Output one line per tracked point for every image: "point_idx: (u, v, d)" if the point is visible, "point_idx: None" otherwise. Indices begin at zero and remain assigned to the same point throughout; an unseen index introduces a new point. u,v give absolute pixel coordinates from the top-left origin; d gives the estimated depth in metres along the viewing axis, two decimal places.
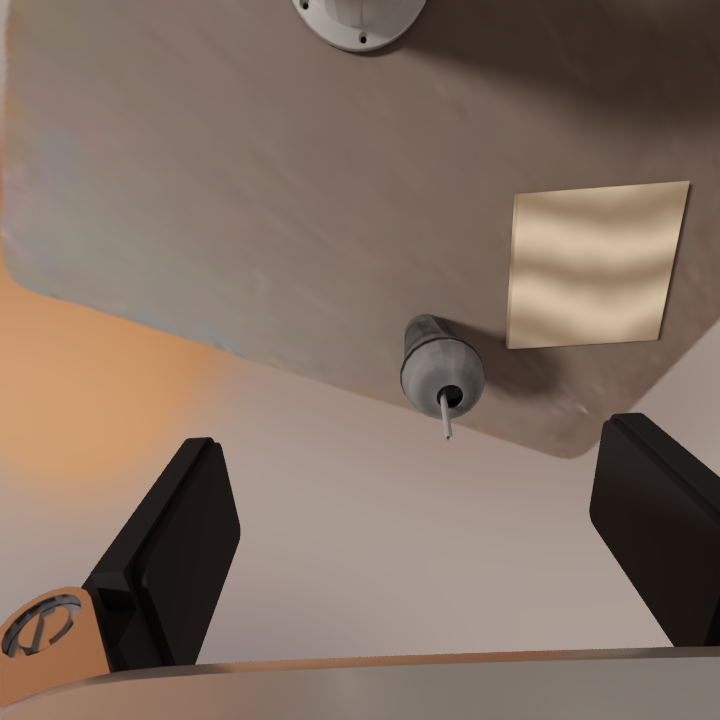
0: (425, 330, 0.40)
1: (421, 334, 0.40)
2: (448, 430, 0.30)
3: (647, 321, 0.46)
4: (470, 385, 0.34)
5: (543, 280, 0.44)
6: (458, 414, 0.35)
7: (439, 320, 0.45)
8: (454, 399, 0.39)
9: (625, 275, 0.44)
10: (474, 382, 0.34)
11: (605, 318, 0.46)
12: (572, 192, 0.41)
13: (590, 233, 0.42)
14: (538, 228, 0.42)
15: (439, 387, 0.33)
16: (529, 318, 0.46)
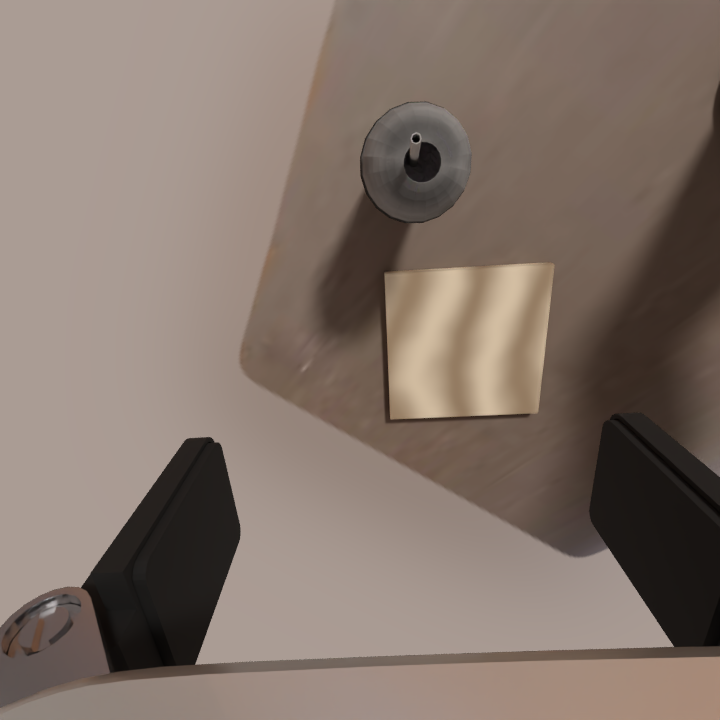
0: None
1: None
2: (420, 141, 0.20)
3: (409, 406, 0.46)
4: (433, 193, 0.25)
5: (461, 302, 0.42)
6: (387, 180, 0.25)
7: None
8: None
9: (458, 378, 0.45)
10: (434, 199, 0.26)
11: (415, 368, 0.45)
12: (546, 316, 0.42)
13: (504, 339, 0.43)
14: (516, 289, 0.41)
15: (437, 145, 0.24)
16: (420, 292, 0.41)
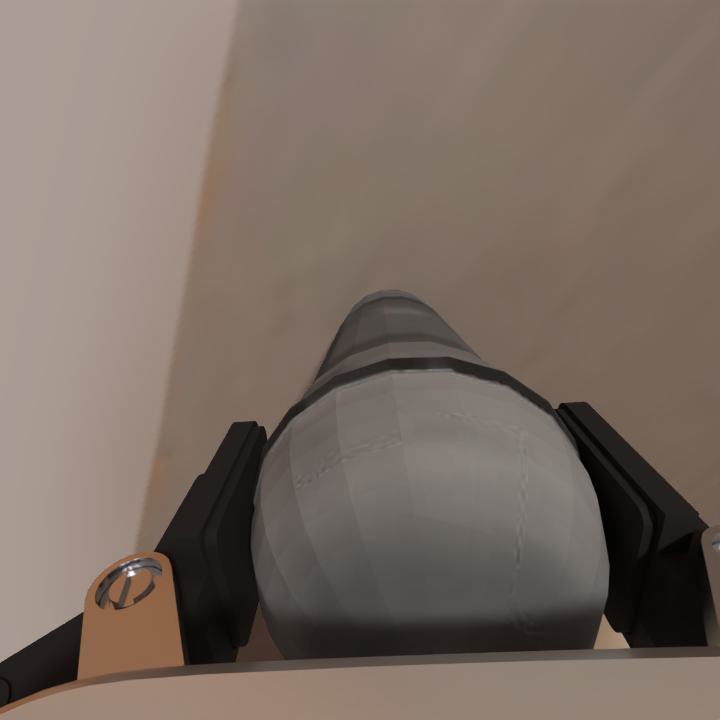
0: None
1: None
2: None
3: None
4: None
5: None
6: None
7: None
8: None
9: None
10: None
11: None
12: None
13: None
14: None
15: None
16: None
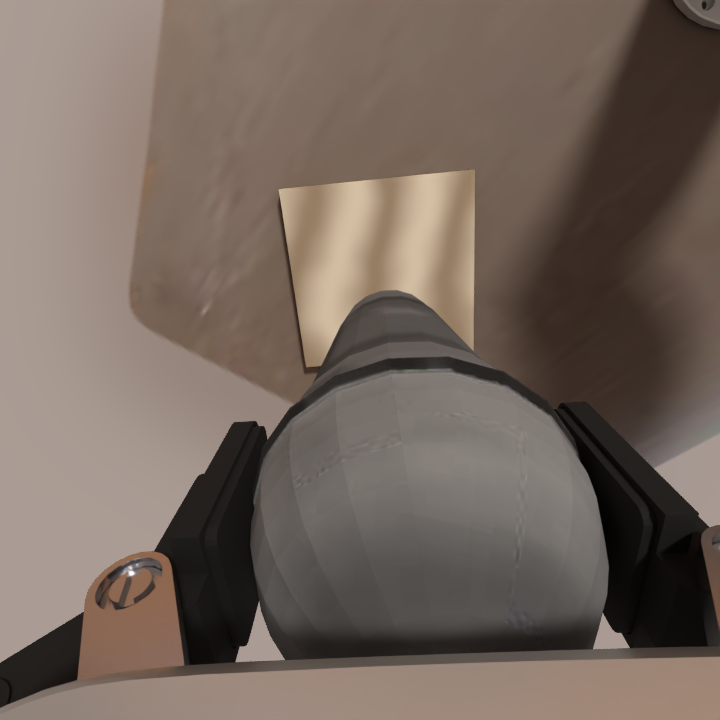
0: None
1: None
2: None
3: (326, 351, 0.40)
4: None
5: (371, 220, 0.36)
6: None
7: None
8: None
9: None
10: None
11: (327, 305, 0.39)
12: (471, 234, 0.36)
13: (425, 265, 0.37)
14: (433, 201, 0.35)
15: None
16: (322, 210, 0.36)
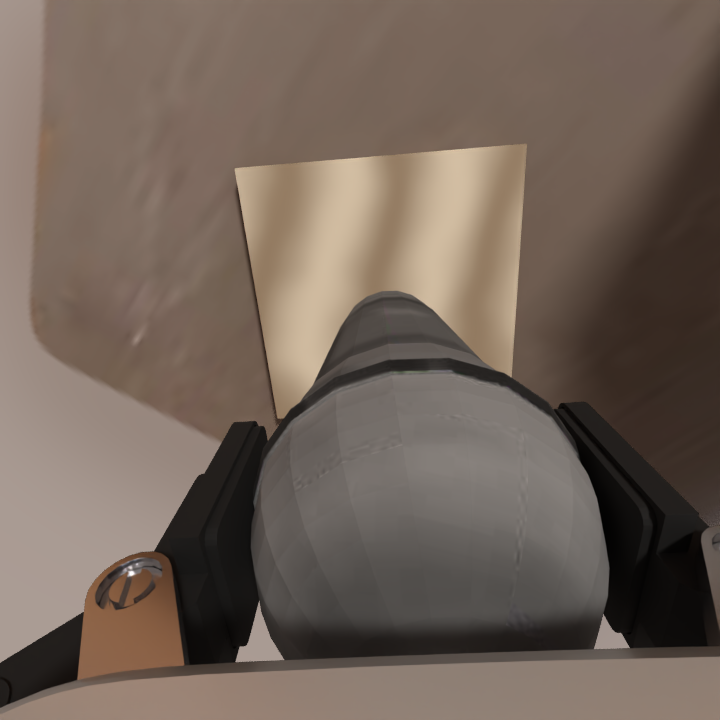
0: None
1: None
2: None
3: None
4: None
5: (370, 217, 0.25)
6: None
7: None
8: None
9: None
10: None
11: (307, 336, 0.27)
12: (517, 240, 0.25)
13: (448, 283, 0.26)
14: (463, 191, 0.24)
15: None
16: (299, 201, 0.24)
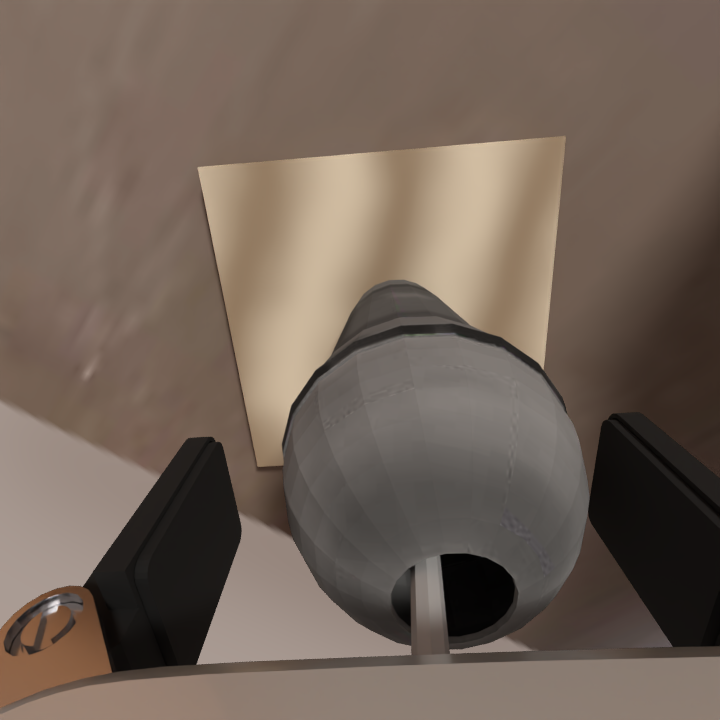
0: None
1: None
2: None
3: None
4: (487, 642, 0.08)
5: (368, 228, 0.20)
6: (342, 604, 0.08)
7: None
8: None
9: None
10: None
11: (292, 371, 0.23)
12: (550, 257, 0.20)
13: (463, 309, 0.21)
14: (484, 196, 0.19)
15: (507, 559, 0.07)
16: (280, 209, 0.19)
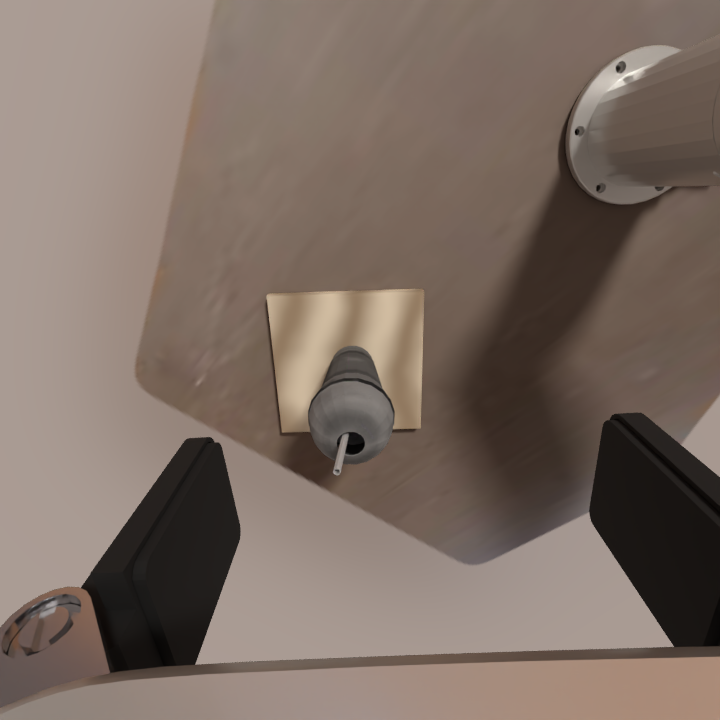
0: None
1: (380, 384, 0.38)
2: (341, 467, 0.28)
3: (299, 420, 0.49)
4: (360, 459, 0.33)
5: (340, 323, 0.44)
6: (325, 449, 0.33)
7: None
8: None
9: None
10: (362, 461, 0.33)
11: (302, 385, 0.47)
12: (421, 338, 0.45)
13: (383, 359, 0.46)
14: (391, 312, 0.44)
15: (361, 433, 0.32)
16: (301, 314, 0.44)
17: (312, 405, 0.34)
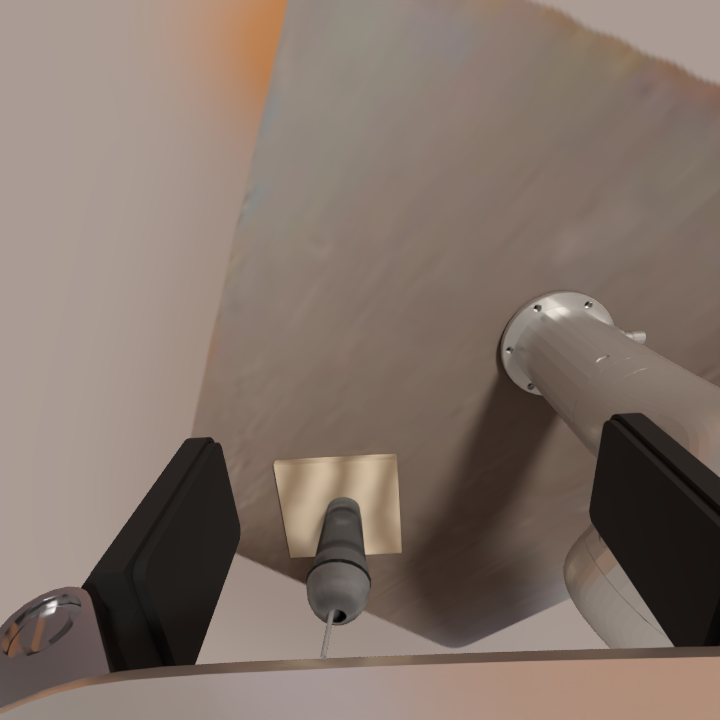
0: (363, 545, 0.51)
1: (362, 547, 0.50)
2: (326, 651, 0.40)
3: (303, 549, 0.61)
4: (344, 623, 0.45)
5: (332, 482, 0.56)
6: (318, 617, 0.45)
7: None
8: None
9: None
10: (346, 623, 0.45)
11: (304, 524, 0.59)
12: (397, 490, 0.57)
13: (368, 505, 0.58)
14: (371, 474, 0.56)
15: (343, 610, 0.43)
16: (301, 476, 0.56)
17: (308, 578, 0.46)
